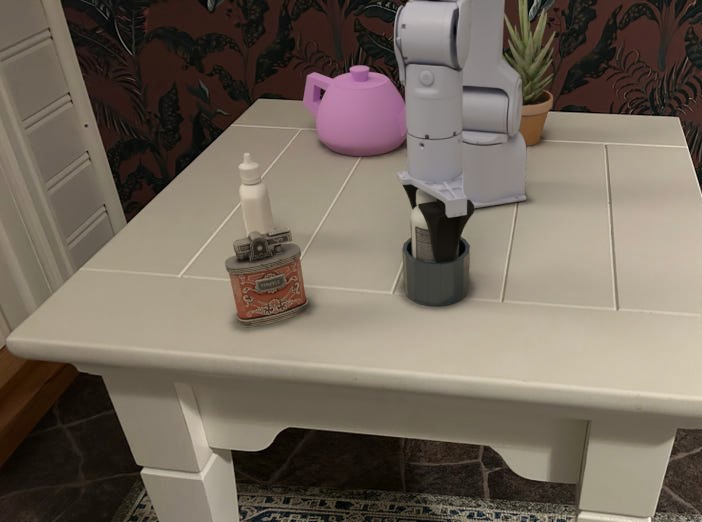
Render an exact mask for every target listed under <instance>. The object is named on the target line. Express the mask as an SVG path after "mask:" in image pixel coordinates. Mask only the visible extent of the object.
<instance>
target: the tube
mask: <svg viewBox="0 0 702 522" xmlns="http://www.w3.org/2000/svg"><path fill="white" fill-rule="evenodd" d="M401 250H402V251H401V252H402V273H403V275H402V276H403V289H404V293H405V295H406V297H407V298H408V299H410V300H411V301H412V302H414V303H416V304H419V305H423V306H426V307H446V306H450V305H451V306H452V305H455V304H456V303H459V302H460V301H462V300H463V299H465V298H466V297H467V296H468V294H469V292H470V273H471V271H470V270H471V267H470V266H471V245H470V244H469V242H468V241H467V239H466V238H464V237H462V236H461V237H460V241H459V257H458V258H456V259H454V260H452V261H446V262H440V263H437V262H425V261H421V260H417V259H416V258H414V257H412V248H411V237H409V238H408V239H407V240H406V241H405V242H404V243H403V244H402V249H401Z"/></svg>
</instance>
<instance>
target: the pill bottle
mask: <svg viewBox="0 0 702 522" xmlns="http://www.w3.org/2000/svg"><path fill="white" fill-rule="evenodd" d="M434 201H436V202H437V198H435V197H434V196H432V195H430V194H428V193H426V192H425V191H423V190H421V189H418V190H417V191H416V204H417V206H416V207H415V208H414V209H413V210H412V209H411V212H410V216H409V217H410V218H409V221H410V222H409V223H410V238H411V248H412V257H414V258H416V259H417V260H421V261H425V262H436V261H435V258H434V256H433V252H432V246H431V240H430V234H429V230H428V227H427V224H426V221H425V219H424V216H423V214H422V213H421V211H420V209H419V208H418V204H421V203H428V202H434ZM458 257H459V244H458V248H457V252H456V255H455V258H454V259H456V258H458Z"/></svg>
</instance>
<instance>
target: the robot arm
mask: <svg viewBox="0 0 702 522" xmlns="http://www.w3.org/2000/svg"><path fill="white" fill-rule="evenodd" d="M505 1H506V0H408V1H407V2H406V4H405V5H400V6H399V7H398V9H397V11H396V14H395V19H394V27H393V49H394V55H395V58H396V62H397V64H398V73H399V81H400V85H403V86H404V102H405V105H406V130H407V138H406V147H407V148H406V154H407V155H406V156H407V157H406V159H407V165H406V170H403V171H397V173H396V177H397V181H398V182H399V184H401V185H402V187H403V189H404V191H405V193H406V197H407V198H408V200H409V203H410V206H411V211H412V210H413V209H414V208H415V207H416V206H417V204H416V191H417V190H418V189H421V190H423V191H425V192H426V193H428V194H430V195H432V196H434V197H435V198H437V202H436V201H434V202H428V203H421V204H418V208H419V209H420V211H421V213H422V214H423V216H424V219H425V221H426V224H427V227H428V230H429V234H430V240H431V246H432V252H433V256H434V258H435V261H436V262H437V263H440V262H446V261H452V260H454V258H455V255H456V252H457V248H458V244H459V241H460V237H462V235H463V232H464V230H465V227H466V225H467V223H468V221H469V220H470V219H471V217H472V216H473V214H474V213H475V209H479V208H484V207H485V208H486V207H493V206H497V205H503V204H511V203H516V202H517V203H518V202H523V201H527V195H525V194H526V193H525V191H526V177H527V164H528V163H527V161H528V152H527V146H526V144H525V141H524V138H523V136H522V134H521V133H520V132H519V131H518V130H519V127H520V122H521V115H522V80H521V79H520V78H521V76H520V75H519V74H518V72H516V71H515V70H514V67H513V66H512V65H510V66H509V65H508V64H507V63H506V62H505V61H504V60H503V59H502V54H503V47H504V46H503V44H504V22H505V17H504V13H505V4H506V3H505Z"/></svg>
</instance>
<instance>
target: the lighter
mask: <svg viewBox="0 0 702 522" xmlns="http://www.w3.org/2000/svg"><path fill="white" fill-rule="evenodd" d="M292 241H293V235H292V231H291V229H290V228H288V227H282V228H277V229H274V230H272V231H268V232H267V233H265V234H260V233H259V232H257V231H254V232H251V233H249V235H248V237H247V236H246V237H244V238H239V239H235V240H233V241H232V247H233V251H234V253H235V255H232V256H230V257H228V258H226V259H225V261H224V266H225V270H226V272H227V273H228V275H229V281H230V286H231V290H232V294H233V298H234V303H235V307H236V311H237V312H236V320H237V324H238V325H239V326H241V327H243V328H252V327H258V326H263V325H264V326H265V325H268V324H272V323H277V322H280V321H283V320H286V319H289V318H292V317H296V316H298V315H301V314H303V313H305V312H307V311H308V309H309V306H310V305H309V300H308V297H306V290H305V284H304V277H303V270H302V269H303V268H302V261H301V257H302V251H301V250H302V249H301V247H300V246H299V245H298V244H297V243H291V242H292Z"/></svg>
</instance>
